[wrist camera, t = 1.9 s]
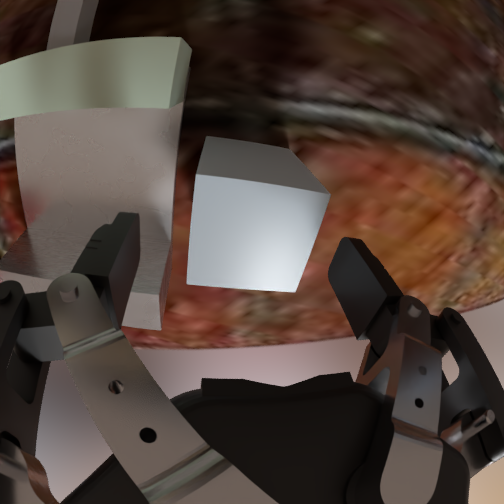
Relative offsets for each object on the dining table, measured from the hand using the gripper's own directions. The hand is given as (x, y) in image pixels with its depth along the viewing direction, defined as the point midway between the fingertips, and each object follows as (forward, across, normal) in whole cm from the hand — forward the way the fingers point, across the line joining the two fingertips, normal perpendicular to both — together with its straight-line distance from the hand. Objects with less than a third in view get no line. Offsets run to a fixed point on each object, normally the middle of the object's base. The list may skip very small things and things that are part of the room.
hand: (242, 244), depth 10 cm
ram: (+6, +10, -11) cm, 16 cm away
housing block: (+7, -1, 0) cm, 7 cm away
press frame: (+8, +9, 0) cm, 12 cm away
